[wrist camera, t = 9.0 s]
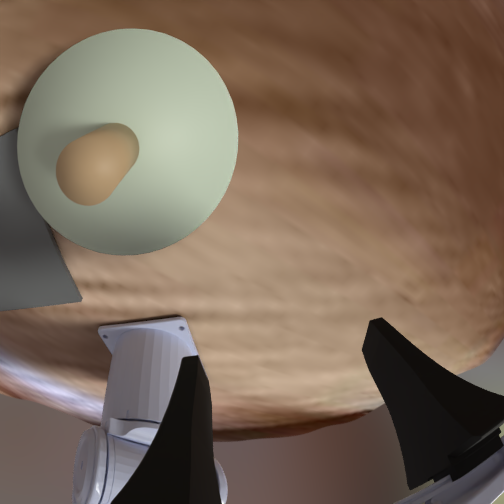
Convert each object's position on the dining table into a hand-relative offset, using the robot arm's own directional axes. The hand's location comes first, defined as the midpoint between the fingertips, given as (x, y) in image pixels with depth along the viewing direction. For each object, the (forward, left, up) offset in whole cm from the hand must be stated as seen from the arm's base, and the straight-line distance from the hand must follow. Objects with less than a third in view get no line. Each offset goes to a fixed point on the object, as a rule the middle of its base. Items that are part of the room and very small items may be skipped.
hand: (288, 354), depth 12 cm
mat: (+4, +20, -10) cm, 23 cm away
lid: (+8, +6, -6) cm, 12 cm away
